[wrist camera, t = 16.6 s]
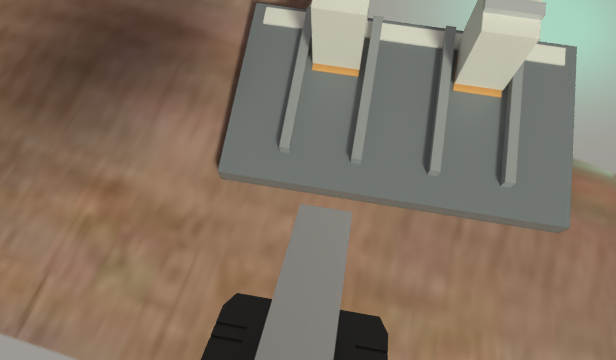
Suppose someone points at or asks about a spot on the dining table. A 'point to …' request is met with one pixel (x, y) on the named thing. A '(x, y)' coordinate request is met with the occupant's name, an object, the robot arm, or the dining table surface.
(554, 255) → the dining table surface
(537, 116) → the switch bank
